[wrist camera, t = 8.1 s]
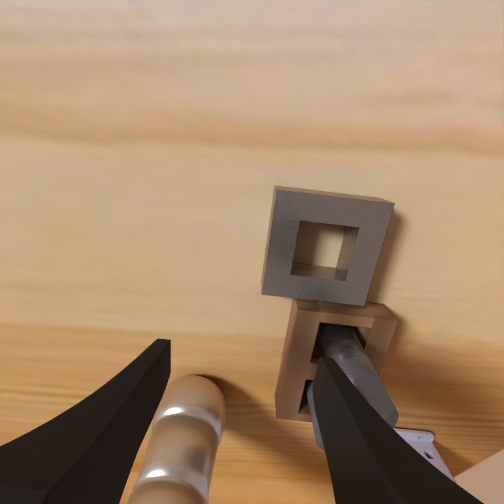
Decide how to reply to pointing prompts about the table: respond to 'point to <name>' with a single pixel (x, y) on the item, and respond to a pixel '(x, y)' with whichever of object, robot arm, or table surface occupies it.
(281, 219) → the socket block
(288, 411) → the rack
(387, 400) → the shiny steel cylinder
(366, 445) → the robot arm
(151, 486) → the plastic bottle
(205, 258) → the table surface
